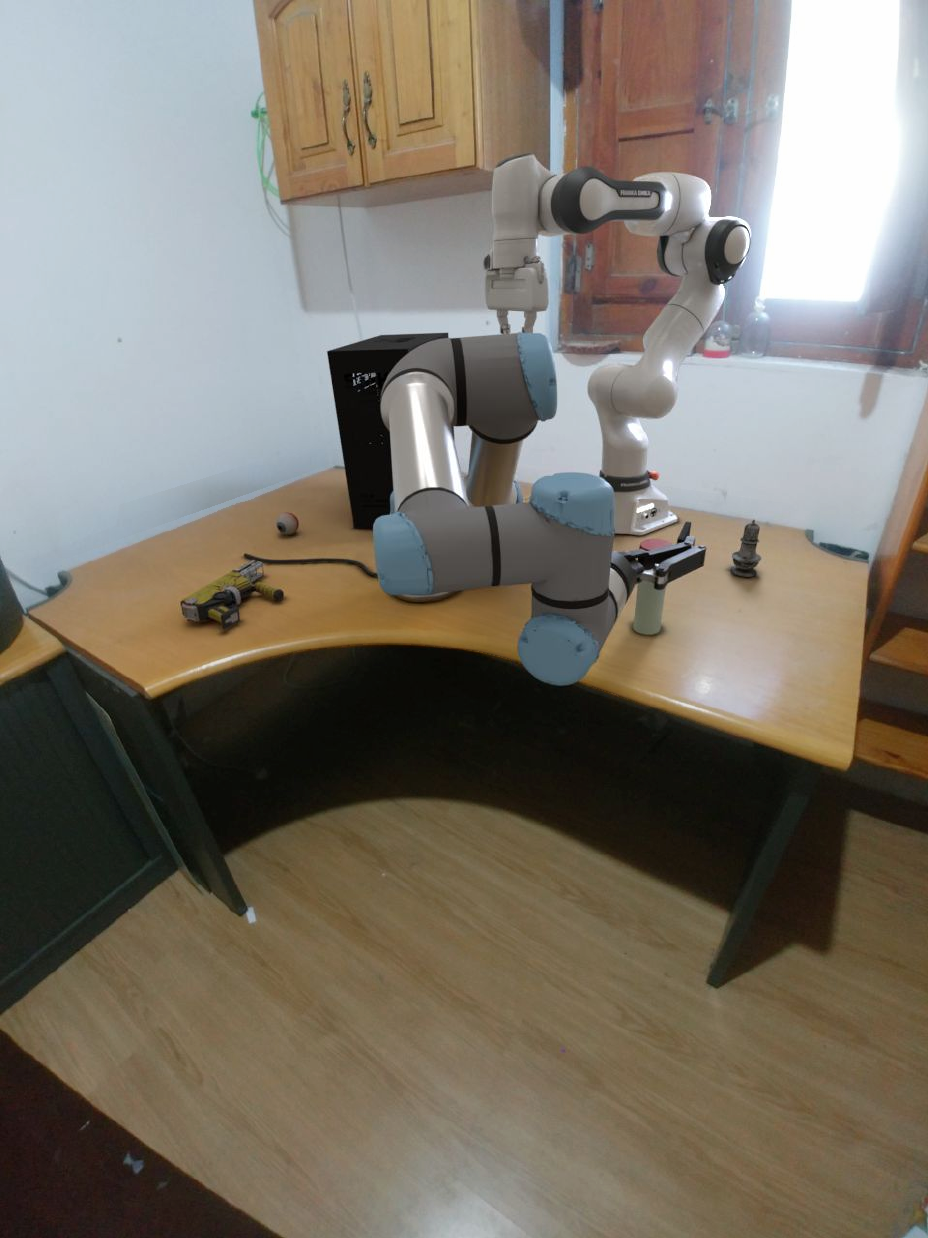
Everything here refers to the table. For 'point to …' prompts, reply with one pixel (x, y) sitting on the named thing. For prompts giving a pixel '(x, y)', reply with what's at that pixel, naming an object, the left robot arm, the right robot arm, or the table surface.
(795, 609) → the table surface
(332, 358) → the black computer case
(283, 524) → the eyeball
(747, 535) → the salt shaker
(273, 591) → the toy gun
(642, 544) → the lid
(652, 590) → the jar
